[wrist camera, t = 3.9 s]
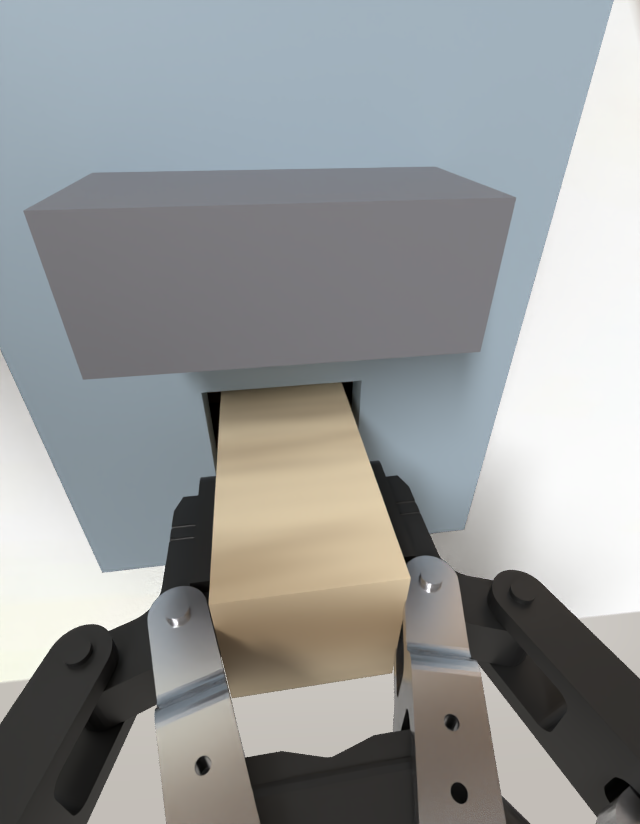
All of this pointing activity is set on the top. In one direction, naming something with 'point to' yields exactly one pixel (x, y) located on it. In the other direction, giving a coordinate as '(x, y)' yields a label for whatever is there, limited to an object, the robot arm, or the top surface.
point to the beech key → (300, 544)
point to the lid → (274, 228)
